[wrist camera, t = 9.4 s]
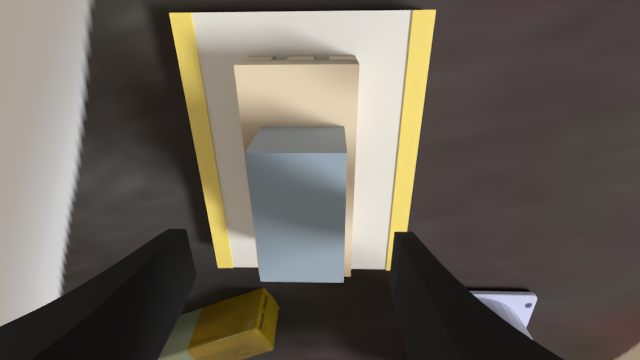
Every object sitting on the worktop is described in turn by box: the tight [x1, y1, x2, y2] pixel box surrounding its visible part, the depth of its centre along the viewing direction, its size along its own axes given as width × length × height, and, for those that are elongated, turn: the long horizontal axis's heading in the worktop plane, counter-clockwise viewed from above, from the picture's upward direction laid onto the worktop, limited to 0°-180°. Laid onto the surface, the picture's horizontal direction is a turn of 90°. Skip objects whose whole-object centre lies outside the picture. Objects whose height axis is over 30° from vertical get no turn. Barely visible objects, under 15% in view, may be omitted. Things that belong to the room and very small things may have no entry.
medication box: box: [158, 287, 280, 360], centre depth 26 cm, size 12×3×4 cm, turn 115°
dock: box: [169, 10, 436, 270], centre depth 19 cm, size 15×12×2 cm
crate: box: [245, 127, 347, 283], centre depth 14 cm, size 6×4×3 cm, turn 1°
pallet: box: [234, 55, 360, 277], centre depth 17 cm, size 11×5×3 cm, turn 1°
